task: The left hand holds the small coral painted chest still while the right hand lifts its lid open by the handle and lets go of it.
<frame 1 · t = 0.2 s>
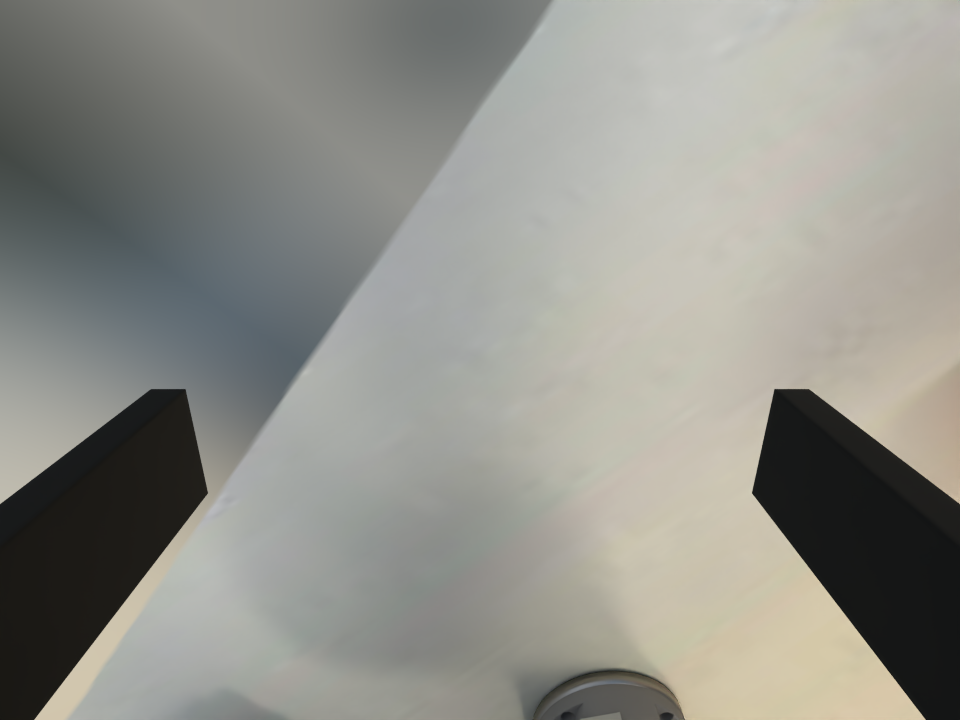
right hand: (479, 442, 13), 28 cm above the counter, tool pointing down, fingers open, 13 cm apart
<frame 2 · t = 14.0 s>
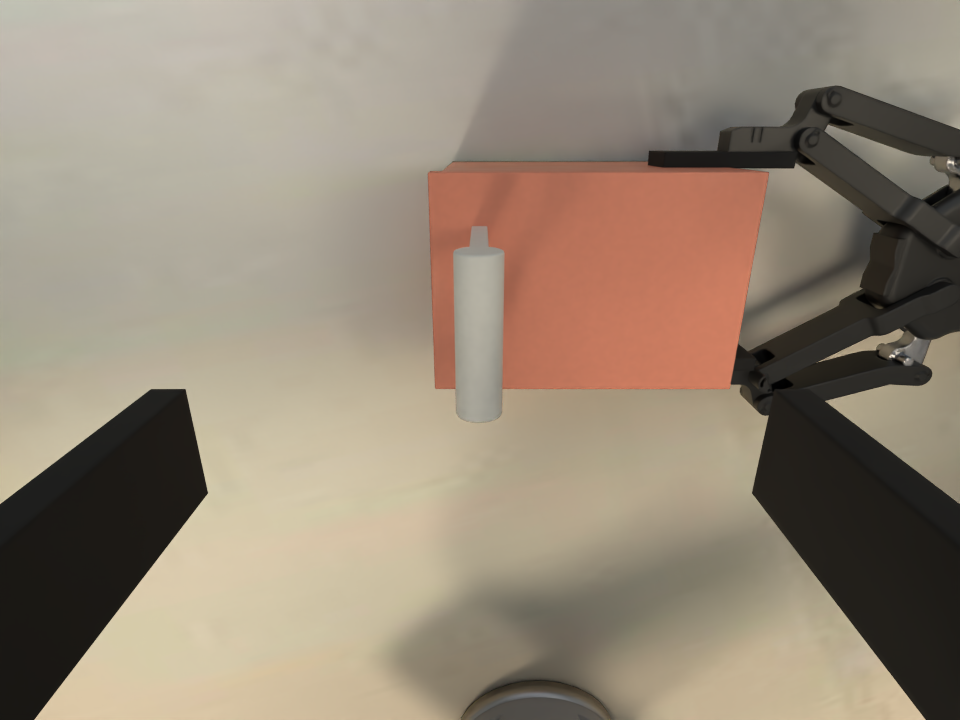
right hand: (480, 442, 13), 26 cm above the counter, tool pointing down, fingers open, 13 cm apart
left hand: (644, 264, 31), fingers closed on chest, 10 cm apart
chest: (560, 243, 37), on the counter, touching left hand
lid: (604, 309, 23), point 15 cm above the counter, hinge at 0.0°
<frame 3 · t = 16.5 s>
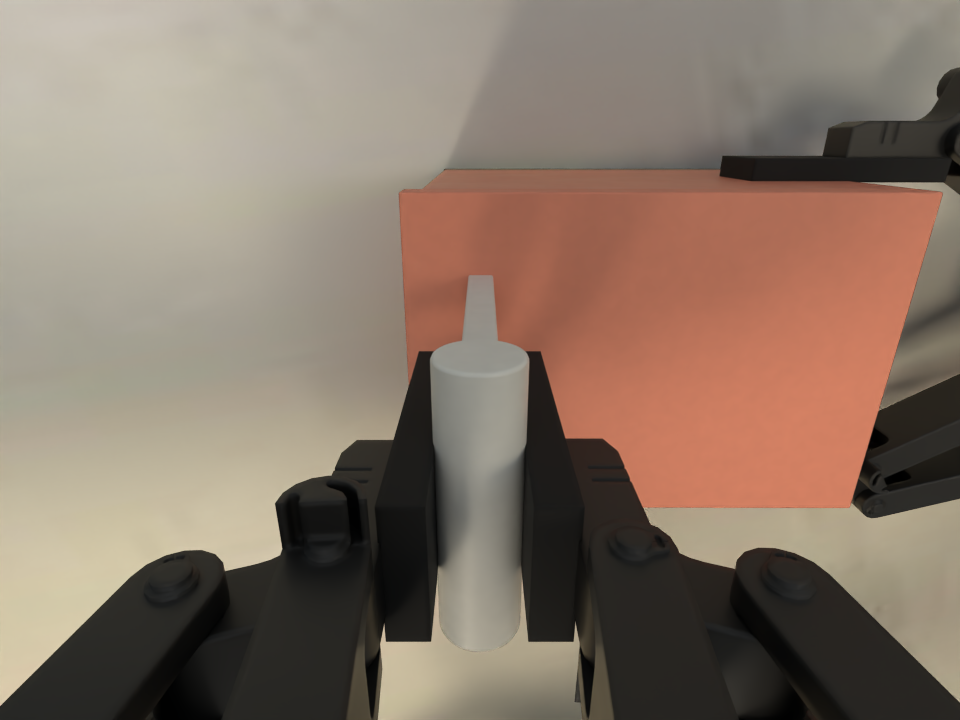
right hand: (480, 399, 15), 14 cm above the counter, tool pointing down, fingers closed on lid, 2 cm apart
chest: (587, 275, 28), on the counter, touching left hand
lid: (686, 419, 14), point 15 cm above the counter, hinge at -0.1°, touching right hand
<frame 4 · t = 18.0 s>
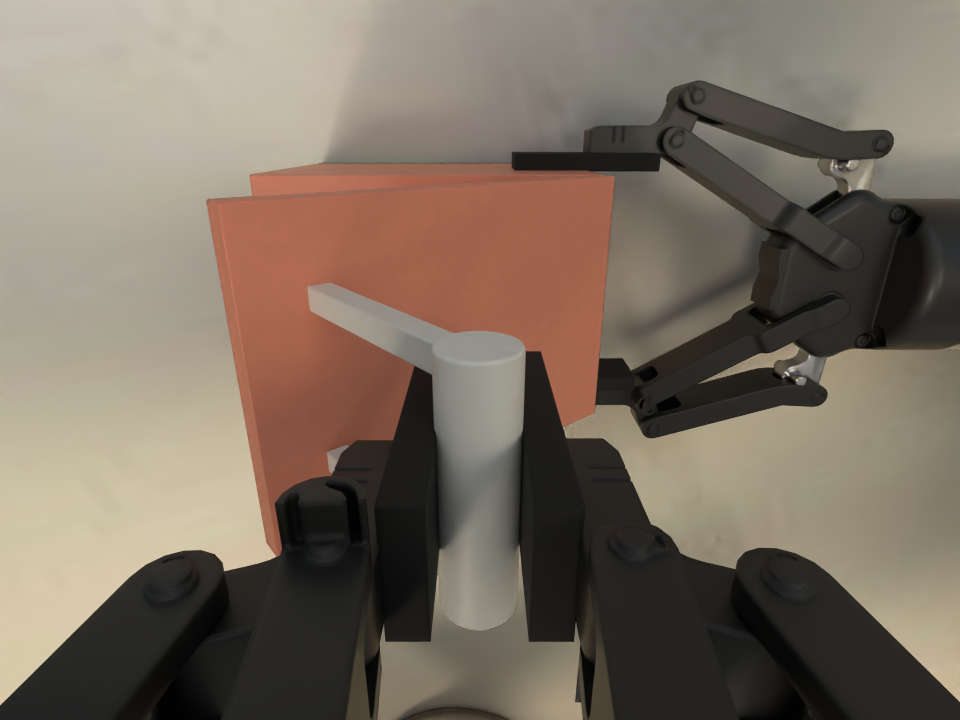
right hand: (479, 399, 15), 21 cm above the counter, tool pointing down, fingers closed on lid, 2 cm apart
left hand: (510, 275, 28), fingers closed on chest, 10 cm apart
chest: (444, 250, 34), on the counter, touching left hand
lid: (537, 371, 17), point 19 cm above the counter, hinge at 39.8°, touching right hand
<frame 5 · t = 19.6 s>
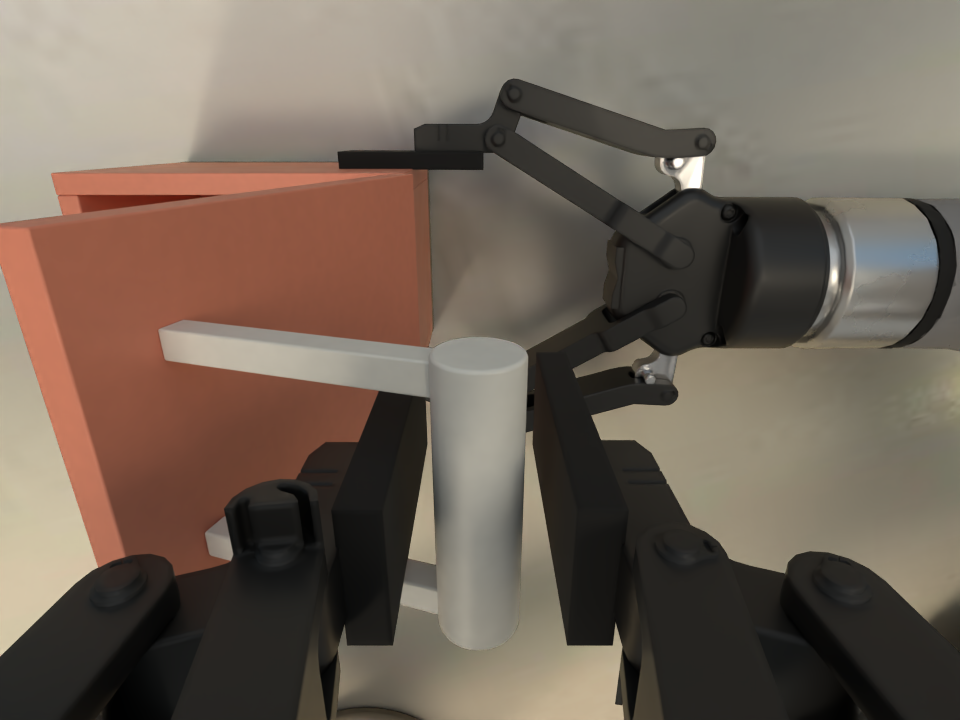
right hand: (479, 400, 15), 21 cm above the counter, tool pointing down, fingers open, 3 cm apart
left hand: (354, 273, 28), fingers closed on chest, 10 cm apart
chest: (317, 249, 34), on the counter, touching left hand
lid: (422, 376, 16), point 20 cm above the counter, hinge at 72.2°
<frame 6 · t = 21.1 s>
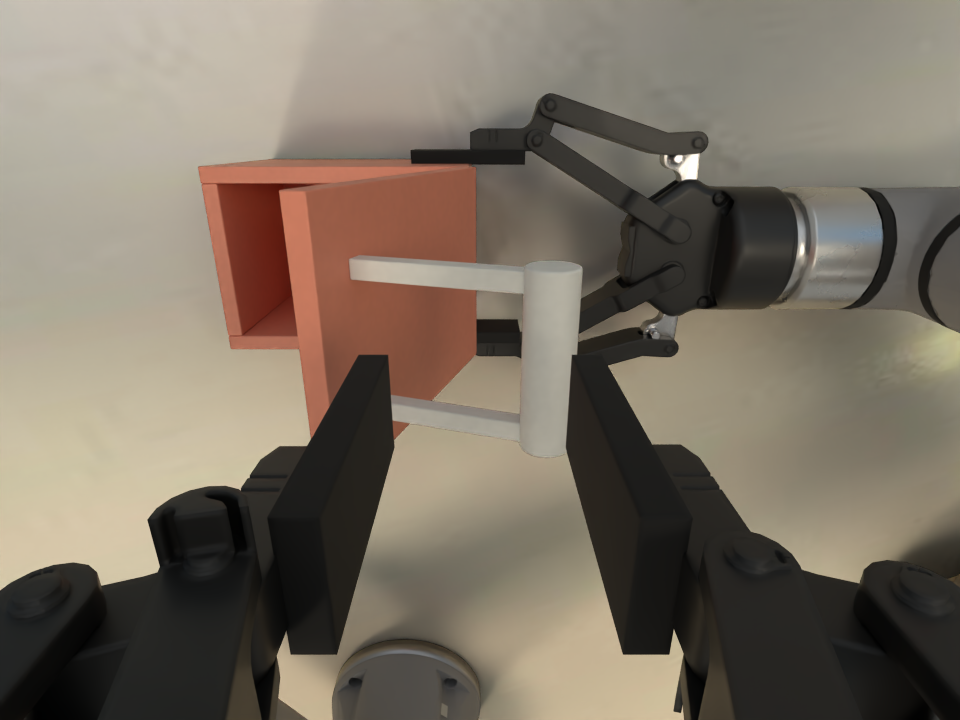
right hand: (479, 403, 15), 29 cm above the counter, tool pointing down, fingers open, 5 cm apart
left hand: (417, 248, 35), fingers closed on chest, 10 cm apart
chest: (376, 232, 41), on the counter, touching left hand
lid: (494, 307, 23), point 20 cm above the counter, hinge at 71.5°
when the left hand's fingers open (7 cm above the counter, at t = 23.3 s): chest stays where it is, on the counter.
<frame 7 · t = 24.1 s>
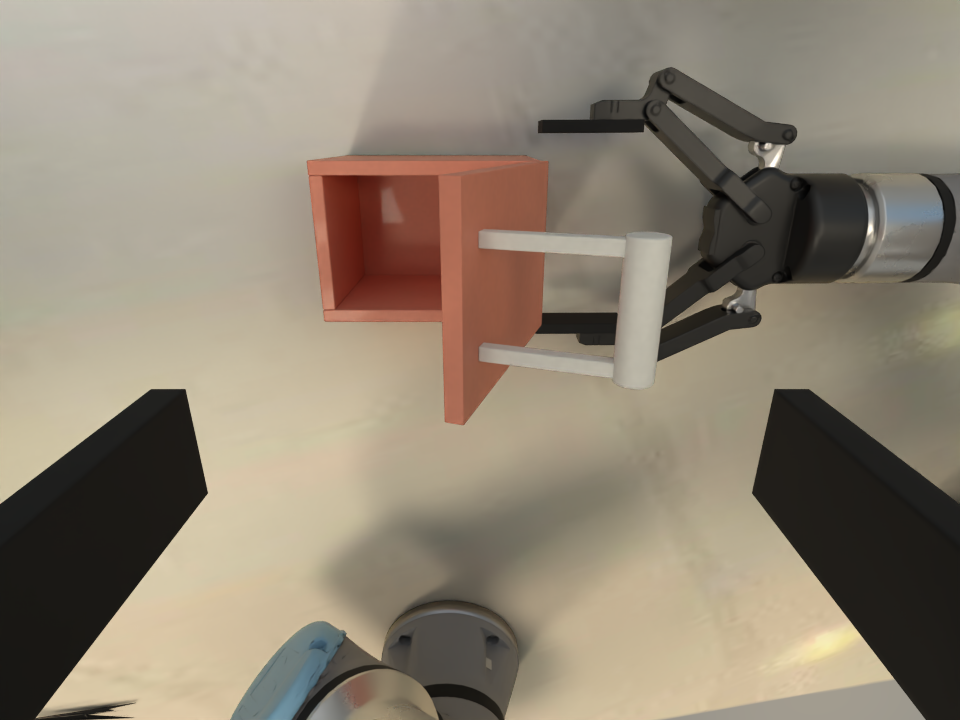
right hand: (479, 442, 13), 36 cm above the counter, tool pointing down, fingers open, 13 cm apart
left hand: (536, 231, 39), fingers open, 13 cm apart
feather: (35, 714, 67), on the counter
chest: (438, 221, 46), on the counter
lid: (577, 277, 27), point 20 cm above the counter, hinge at 71.0°
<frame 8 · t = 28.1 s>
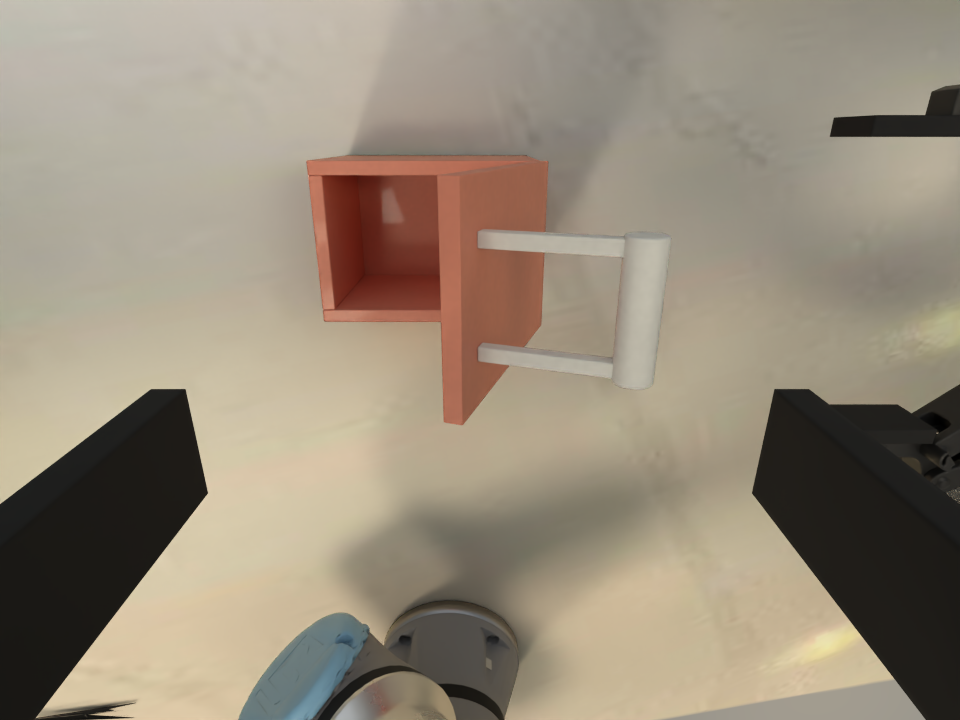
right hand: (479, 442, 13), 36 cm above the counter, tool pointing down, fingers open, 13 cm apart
feather: (35, 714, 67), on the counter
chest: (438, 221, 46), on the counter
lid: (576, 277, 27), point 20 cm above the counter, hinge at 71.0°
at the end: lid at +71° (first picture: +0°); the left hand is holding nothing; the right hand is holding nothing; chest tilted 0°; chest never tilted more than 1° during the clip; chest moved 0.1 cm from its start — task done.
